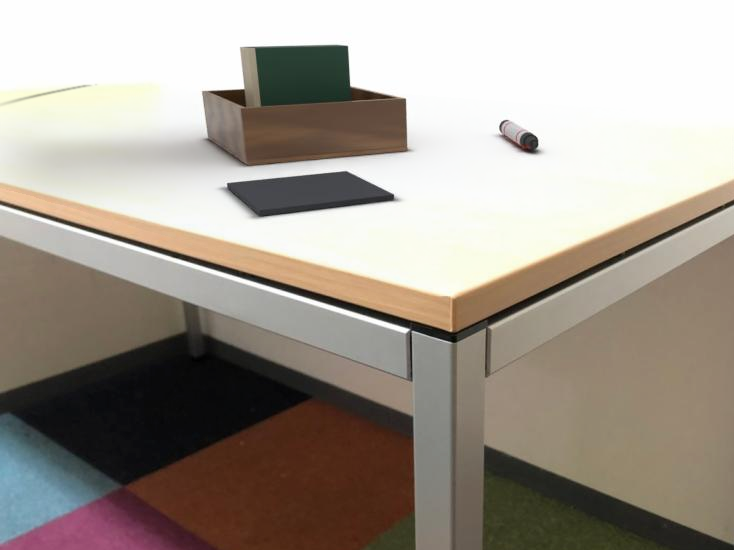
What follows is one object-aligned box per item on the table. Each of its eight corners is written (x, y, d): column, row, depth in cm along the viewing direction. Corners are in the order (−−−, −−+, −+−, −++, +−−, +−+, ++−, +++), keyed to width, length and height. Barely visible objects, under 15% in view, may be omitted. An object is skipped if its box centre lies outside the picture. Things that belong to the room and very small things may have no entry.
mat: (227, 188, 71) (226, 182, 70) (346, 175, 76) (346, 170, 75) (259, 216, 61) (259, 210, 61) (394, 199, 66) (394, 194, 66)
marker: (498, 135, 100) (499, 119, 99) (513, 134, 100) (513, 119, 99) (527, 155, 86) (528, 137, 85) (544, 154, 86) (544, 136, 86)
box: (207, 138, 98) (201, 90, 96) (345, 128, 106) (343, 84, 104) (247, 165, 81) (240, 108, 78) (407, 150, 89) (406, 98, 87)
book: (250, 141, 92) (239, 46, 88) (342, 134, 98) (336, 44, 93) (258, 146, 89) (248, 48, 85) (353, 138, 94) (348, 45, 90)
